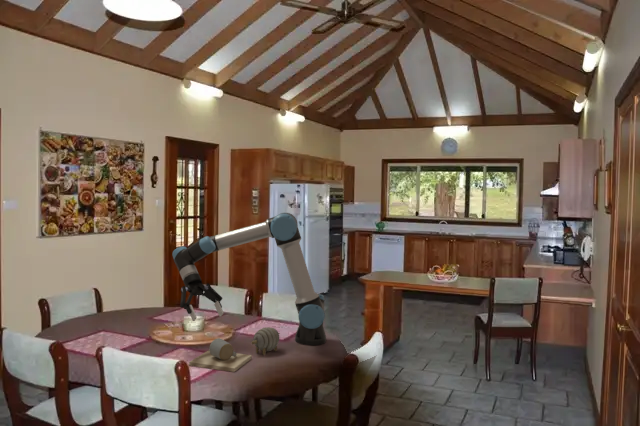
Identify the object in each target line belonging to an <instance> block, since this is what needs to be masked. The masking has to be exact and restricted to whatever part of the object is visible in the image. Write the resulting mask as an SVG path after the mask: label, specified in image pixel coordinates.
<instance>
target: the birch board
mask: <svg viewBox="0 0 640 426" xmlns="http://www.w3.org/2000/svg"><path fill="white" fill-rule="evenodd" d="M236 353H237V352H236ZM252 359H253V358H252V354H246V353H237V354H236V356H235V357H234V356H231V357H230V358H229V359H228V360H221V359H219V358H217V357H214V356H212V355H211V354H210V351H209V349H208V350H206V351H205V352H203V353H202V354H200V355H198V356H197V357H194V358H193V359H192V360H190V361H189V362H188V366H190V367H196V368H203V369H210V370H218V371H225V372H232V373H235V372H236V371H238V370H239V369H240V368H242V367H243V366H244V365H246V364H247V363H248V362H249V361H251V360H252Z"/></svg>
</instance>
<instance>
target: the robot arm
mask: <svg viewBox="0 0 640 426" xmlns="http://www.w3.org/2000/svg"><path fill="white" fill-rule="evenodd" d="M266 238H271V239H274V241H275V244H276V247H278V248H280V249H281V252H282V255H283V258H284V260H285V264H286V268H287V271H288V273H289V277H290V279H291V283H292V284H291V285H292V287H293V290H294V294H295V297H296V299H295V301H294V304H295V308H296V310H297V314H298V321H299V322H298V323H299V324H298V327H297V330H296V333H295V336H294V340H295V342H296V343H298V344H301V345H307V346H319V345H323V344H325V343H326V342H327V336H326V331H325V327H324V321H325V319H326V314H325V300H326V299H325V296H324V294H320V293H316V292H315V289H314V286H313V282H312V280H311V277H310V273H309V270H308V267H307V263H306V260H305V257H304V253H303V250H302V248H301V244H300V242H301V240H302V236H301V233H300V230H299V226H298V220H297V218H296V216H294V214H291V213H289V212H281V213H279V214H276V216H275V215H274V216H272V217H270V218H267V219H266V220H265V221H263V222H260V223H256V224H251V225H248V226H244V227H240V228H238V229H235V230H230V231H227V232H223V233H219V234H215V235H212V236H208V235H206V236H204V237H202V238H200V239H199V240H197V241H195V243H193V244H192V245H190V246H188V247H186V246H183V245H182V246H179V247H176V249H174V250H173V251H172V258H173V261H174V264H175V266H176V268H177V270H178V272H179V275H180V277H181V279H182V281H183V284H184V285H182V287H181V288H180V293H181V295H180V296H181V297H180V308H181V309H182V308H183V309H184V310H186V313H187V314H188V315H190V319H191V320H192V322H195V321H196V319H197V314H196V312H195V310H194V307H193V305H192V304H190V303H191V301H192V299H193V297H196V296H202V297H205V298H207V299H208V300H209V301H211V302H212V303H214V304H213V306H214V307H215V310H216V312H217V314H218V316H219V317H222V316H223V315H224V314H225V312H224V311H223V305H222V303H221V301H222V300H223V296H221V295H220V294H219V293H218V292H217V291H216V290H215V289H214V288H213V287H212V286H211V284H210V282H209V283H208V282H207V283H206V284H203V281H202V278H201V276H200V274H199V272H198V269H197V267H196V265H195V263H197V262H199V260H201V259H203V258H205V257H207V256H208V255H209V254H211V253H215V252H219V251H222V250H226V249H229V248H234V247H237V246H240V245H244V244H247V243H248V244H249V243H252V242H255V241H259V240H262V239H263V240H264V239H266ZM187 292H188V293H189V295H188V298H187V297H186V296H187ZM186 298H187V300H186Z"/></svg>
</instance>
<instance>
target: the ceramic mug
mask: <svg viewBox="0 0 640 426" xmlns="http://www.w3.org/2000/svg"><path fill="white" fill-rule="evenodd" d="M208 350H209V351H210V354H211V355H212V356H214V357H217V358H219V359H221V360H228V359H229V358H230V357H231V356H234V357H235V356H236V354H237V352H236V351H234V347H233V345H232V344H231V343H230V342H228V341H226V340H224V339H223V338H220V337H219V338H218V337H217V338H214V339H213V340H212V341H211V343H210V345H209V348H208Z"/></svg>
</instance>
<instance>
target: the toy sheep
mask: <svg viewBox="0 0 640 426" xmlns="http://www.w3.org/2000/svg"><path fill="white" fill-rule="evenodd" d="M280 334H281V333H280V332H279V331H278V330H277V328H275V327H270V326H269V327H262V328H260V329H259V330H257V331H256V332H255V334H253V340H252V341H251V342H250V343H251V344H252V345H254V346H255V353H256V354H258V353H259V352H260V351H262V355H263V356H265V355H266V352H271V351H272V350H273V349H274V350H273V351H274V352H277V351H278V345H279V342H280Z"/></svg>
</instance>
